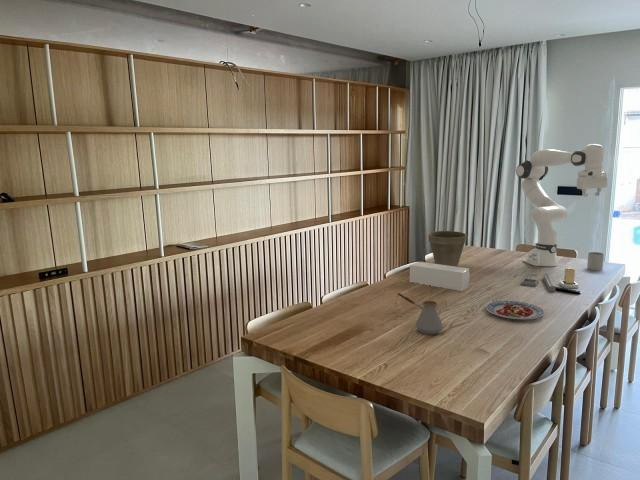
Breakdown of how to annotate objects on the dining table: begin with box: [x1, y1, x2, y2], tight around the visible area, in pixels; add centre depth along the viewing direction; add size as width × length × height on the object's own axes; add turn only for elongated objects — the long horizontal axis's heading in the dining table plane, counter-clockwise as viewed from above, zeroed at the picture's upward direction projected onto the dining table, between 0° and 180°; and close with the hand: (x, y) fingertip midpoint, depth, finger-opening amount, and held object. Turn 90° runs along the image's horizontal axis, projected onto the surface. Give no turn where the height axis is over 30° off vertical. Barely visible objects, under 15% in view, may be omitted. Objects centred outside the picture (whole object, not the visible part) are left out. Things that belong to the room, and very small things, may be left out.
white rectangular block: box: [409, 261, 471, 292], centre depth 272 cm, size 32×11×11 cm, turn 52°
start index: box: [559, 280, 579, 289], centre depth 262 cm, size 8×8×2 cm
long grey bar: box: [542, 273, 556, 293], centre depth 265 cm, size 26×3×3 cm, turn 161°
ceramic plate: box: [485, 300, 545, 320], centre depth 222 cm, size 26×26×3 cm
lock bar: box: [563, 266, 576, 284], centre depth 261 cm, size 4×4×10 cm
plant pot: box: [428, 230, 468, 267], centre depth 314 cm, size 25×25×22 cm
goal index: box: [520, 277, 539, 287], centre depth 268 cm, size 8×8×2 cm
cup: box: [586, 251, 605, 272], centre depth 296 cm, size 8×8×10 cm
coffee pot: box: [396, 292, 444, 336], centre depth 204 cm, size 21×12×15 cm, turn 55°
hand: (591, 196), depth 274 cm, fingers open, 8 cm apart
